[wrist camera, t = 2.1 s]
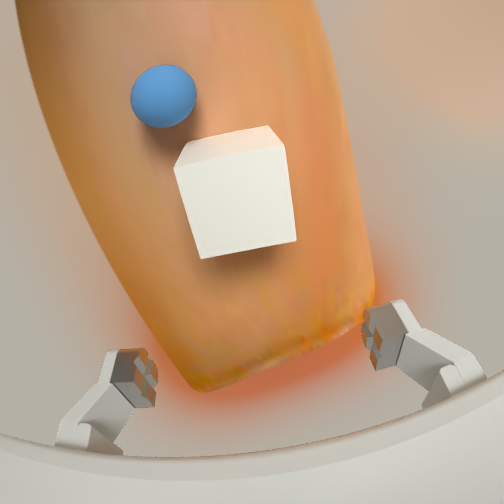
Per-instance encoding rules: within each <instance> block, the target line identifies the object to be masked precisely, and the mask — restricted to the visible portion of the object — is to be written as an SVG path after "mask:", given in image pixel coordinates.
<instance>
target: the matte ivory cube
mask: <svg viewBox="0 0 504 504" xmlns="http://www.w3.org/2000/svg"><path fill="white" fill-rule="evenodd" d="M173 169H174V172H175V176H176V180H177V183H178V186H179V190H180V193H181V197H182V200H183V204H184V207H185V210H186V214H187V217H188V220H189V223H190V227H191V230H192V233H193V236H194V240H195V243H196V246H197V249H198V252H199V255H200V258H201V259H204V258H210V257H215V256H220V255H225V254H230V253H235V252H241V251H246V250H251V249H256V248H262V247H267V246H272V245H277V244H282V243H288V242H293V241H297V239H296V231H295V222H294V214H293V206H292V198H291V190H290V182H289V175H288V168H287V160H286V153H285V147H284V144H283V143H282V142H281V141H280V139H279V138H278V137H277V136H276V134H275V133H274V132H273V131H272V129H271V128H270V127H269V126H268V125H267V126H261V127H255V128H250V129H244V130H239V131H234V132H229V133H224V134H219V135H215V136H210V137H205V138H201V139H197V140H193V141H188V142H187V143H186V145H185V146H184V148H183V150H182V152H181V154H180V156H179V158H178V160H177V162H176V164H175V166H174V168H173Z"/></svg>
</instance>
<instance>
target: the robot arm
mask: <svg viewBox="0 0 504 504" xmlns="http://www.w3.org/2000/svg"><path fill="white" fill-rule="evenodd" d="M363 318H364V320H365V321H364V322H363V324H362V329H361V332H362V339H363V342H364V345H365V347H366V348H367V349H368V350H370V351H371V352H370V359H371V362H372V364H373V366H374V369H375V371H377V370H381V369H384V368H388V367H391V366H395V365H396V367H398V368H399V369H400V370H402V371H403V372H404V373H405V374H407V375H408V376H409V377H411V378H412V379H413V380H415V381H416V382H417V383H418V384H420V385H421V386H422V387H424V388H425V389H426V390H428V391H429V392H428V394H427V396H426V398H425V400H424V401H423V403H422V407H423V409H422V410H419V411H417V412H414V413H411V414H409V415H406V416H403V417H401V418H398V419H395V420H392V421H389V422H386V423H383V424H380V425H376V426H373V427H370V428H367V429H363V430H360V431H356V432H353V433H349V434H345V435H341V436H337V437H333V438H330V439H325V440H320V441H316V442H312V443H306V444H301V445H296V446H290V447H285V448H278V449H272V450H265V451H259V452H249V453H240V454H231V455H217V456H200V457H142V456H124V455H123V451H122V449H120V448H119V447H118V446H117V445H115V444H113V442H114V440H115V439H116V438H117V436H118V435H119V433H120V432H121V430H122V429H123V427H124V425H125V424H126V423H127V421H128V420H129V418H130V417H131V415H132V414H133V412H134V411H135V408H148V407H155V399H156V392H155V390H154V389H153V388H154V387H155V386H156V384H157V383H158V371H157V368H156V365H155V364H154V362H153V361H152V360H151V359H149V358H148V353H147V351H146V350H145V349H144V348H135V349H120V350H109V351H108V352H107V354H106V357H105V360H104V364H103V367H102V370H101V374H100V378H99V381H98V384H94V385H93V386H92V387H91V389H90V390H89V391H88V392H87V393H86V394H85V395H84V396H83V397H82V398H81V399H80V400H79V401H78V402H77V404H76V405H75V406H74V407H73V408H72V409H71V410H70V411H69V412H68V413H67V414H66V415H65V417H63V419H62V420H61V422H60V426H59V430H58V434H57V438H56V442H55V446H50V445H45V444H40V443H35V442H31V441H27V440H23V439H19V438H15V437H12V436H8V435H5V434H1V433H0V504H504V370H503V371H501V372H499V373H497V374H496V375H494V376H492V377H490V378H488V379H487V377H486V375H485V374H484V372H483V370H482V369H481V367H480V365H479V364H478V362H477V360H476V359H475V357H474V355H473V354H472V353H470V352H469V351H467V350H465V349H463V348H461V347H459V346H457V345H456V344H454V343H452V342H450V341H448V340H446V339H445V338H443V337H441V336H439V335H437V334H435V333H433V332H431V331H429V330H428V329H426V328H423V329H421V327H420V326H419V324H418V322H417V321H416V319H415V318H414V316H413V314H412V313H411V311H410V309H409V308H408V306H407V305H406V303H405V302H404V300H402V299H399V300H395V301H391V302H387V303H384V304H380V305H376V306H373V307H369V308H365V309H364V311H363Z"/></svg>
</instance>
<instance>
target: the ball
mask: <svg viewBox="0 0 504 504" xmlns="http://www.w3.org/2000/svg"><path fill="white" fill-rule="evenodd" d="M196 97H197V91H196V86H195V83H194V81H193V79H192V78H191V76H190V75H189V74H188V73H187V72H186V71H184V70H183V69H181V68H179V67H176V66H172V65H160V66H156V67H153V68H151V69H149V70H147V71H145V72H144V73H143V74H142V75H141V76H140V77H139V78H138V79H137V81H136V82H135V84H134V86H133V88H132V92H131V106H132V109H133V111H134V113H135V115H136V116H137V117H138V119H139V120H140V121H142V122H143V123H145V124H146V125H148V126H151V127H156V128H167V127H171V126H174V125H176V124H178V123H180V122H182V121H183V120H184V119H186V118H187V116H188V115H189V114H190V113H191V111H192V110H193V108H194V105H195V102H196Z"/></svg>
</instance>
